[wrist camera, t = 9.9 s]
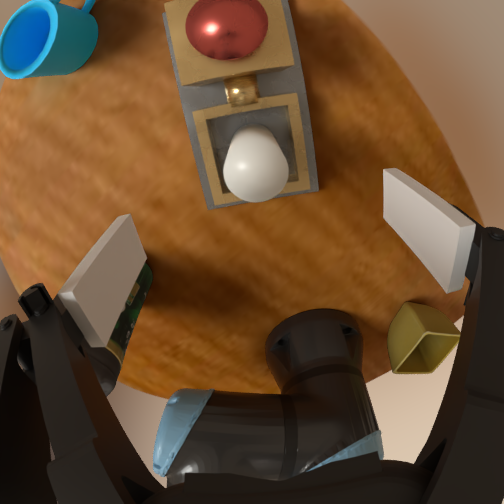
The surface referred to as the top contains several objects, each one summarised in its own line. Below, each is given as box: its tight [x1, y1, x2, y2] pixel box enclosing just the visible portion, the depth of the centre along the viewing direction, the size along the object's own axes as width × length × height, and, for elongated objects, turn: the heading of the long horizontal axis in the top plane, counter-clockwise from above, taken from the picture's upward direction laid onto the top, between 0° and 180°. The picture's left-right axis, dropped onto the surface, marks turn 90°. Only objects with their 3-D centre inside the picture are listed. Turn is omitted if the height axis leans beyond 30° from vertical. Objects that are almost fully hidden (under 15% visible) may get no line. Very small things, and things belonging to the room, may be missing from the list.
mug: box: [0, 0, 98, 79], centre depth 17 cm, size 12×8×8 cm
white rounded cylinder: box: [223, 124, 289, 202], centre depth 24 cm, size 4×4×10 cm
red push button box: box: [162, 0, 319, 210], centre depth 22 cm, size 22×12×11 cm, turn 10°
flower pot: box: [387, 302, 461, 374], centre depth 39 cm, size 9×9×9 cm
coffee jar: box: [81, 263, 153, 397], centre depth 29 cm, size 10×8×19 cm
